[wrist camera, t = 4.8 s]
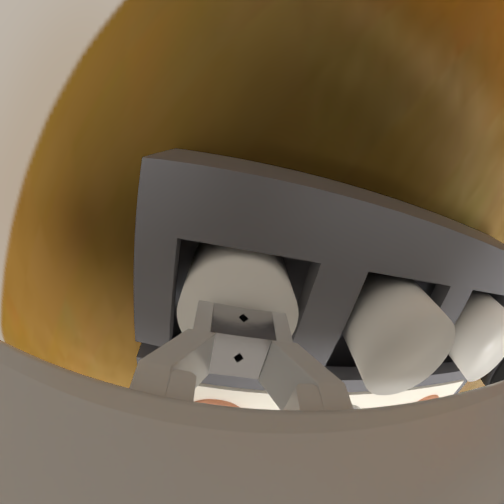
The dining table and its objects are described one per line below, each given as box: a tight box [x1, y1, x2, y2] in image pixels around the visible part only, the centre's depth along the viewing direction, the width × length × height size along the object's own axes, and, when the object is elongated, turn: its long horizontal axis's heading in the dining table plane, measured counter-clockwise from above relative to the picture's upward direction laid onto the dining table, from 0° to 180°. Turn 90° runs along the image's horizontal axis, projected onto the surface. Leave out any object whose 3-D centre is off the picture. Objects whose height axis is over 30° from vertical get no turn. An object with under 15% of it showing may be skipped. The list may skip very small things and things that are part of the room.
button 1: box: [177, 242, 299, 336], centre depth 12 cm, size 4×4×4 cm
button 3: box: [448, 290, 504, 382], centre depth 12 cm, size 4×4×4 cm
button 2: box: [342, 272, 455, 395], centre depth 11 cm, size 4×4×4 cm
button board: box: [134, 148, 504, 410], centre depth 14 cm, size 16×22×6 cm
